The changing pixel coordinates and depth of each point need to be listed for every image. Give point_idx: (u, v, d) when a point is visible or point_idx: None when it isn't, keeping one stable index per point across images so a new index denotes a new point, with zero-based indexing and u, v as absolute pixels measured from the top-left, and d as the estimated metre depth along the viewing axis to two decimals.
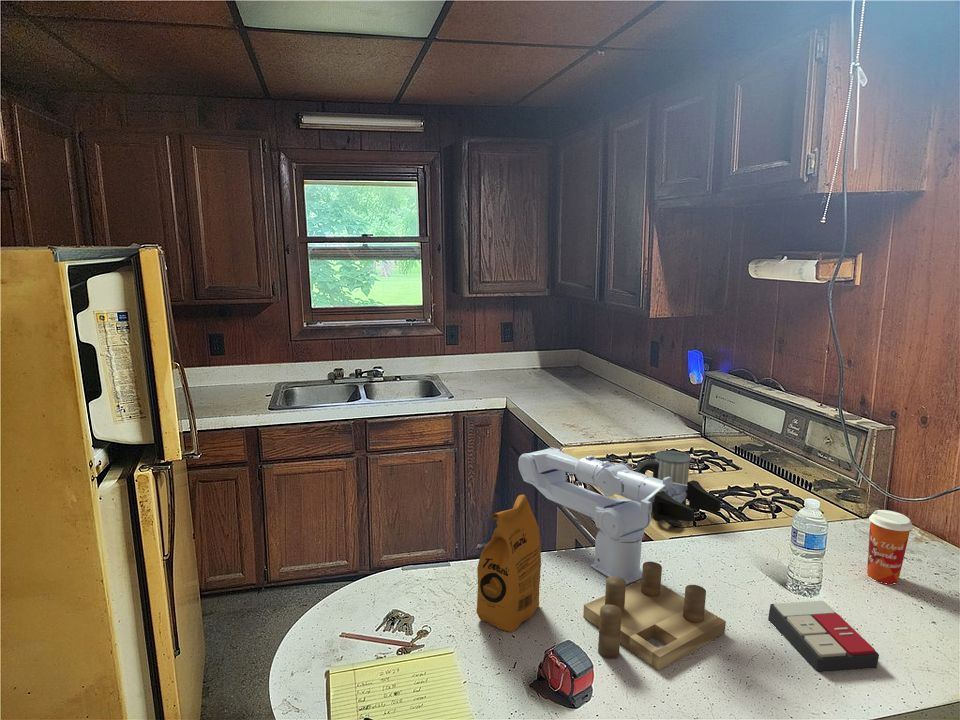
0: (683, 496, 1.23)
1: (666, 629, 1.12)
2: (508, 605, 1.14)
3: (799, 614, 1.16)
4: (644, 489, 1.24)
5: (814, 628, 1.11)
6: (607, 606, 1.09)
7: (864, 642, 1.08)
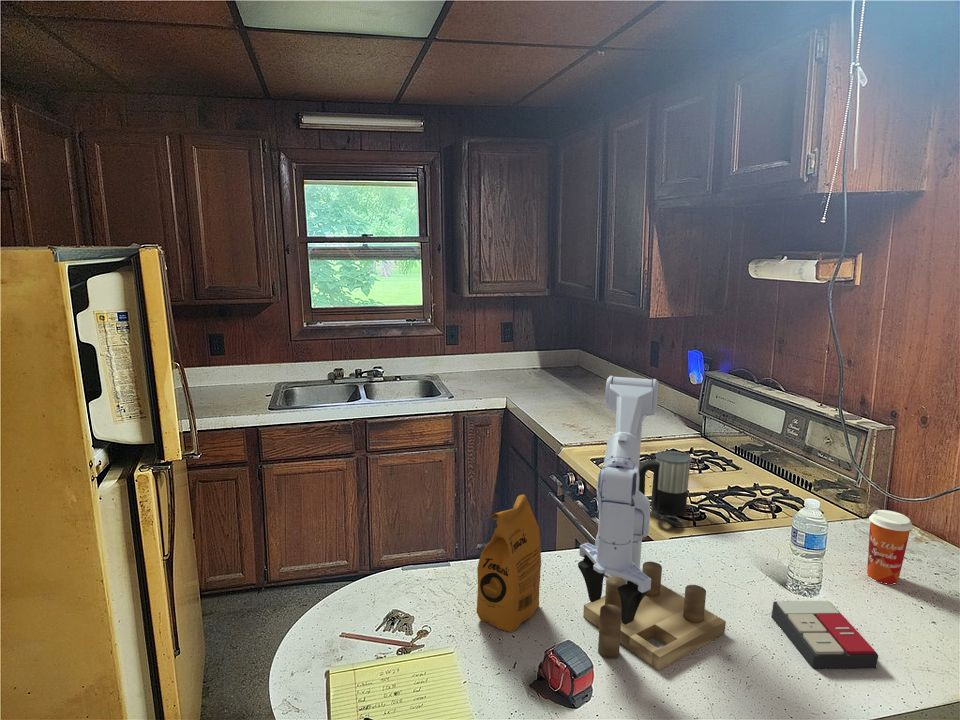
0: None
1: (666, 629, 1.12)
2: (508, 605, 1.14)
3: (801, 612, 1.16)
4: None
5: (814, 627, 1.12)
6: (607, 606, 1.09)
7: (864, 642, 1.08)
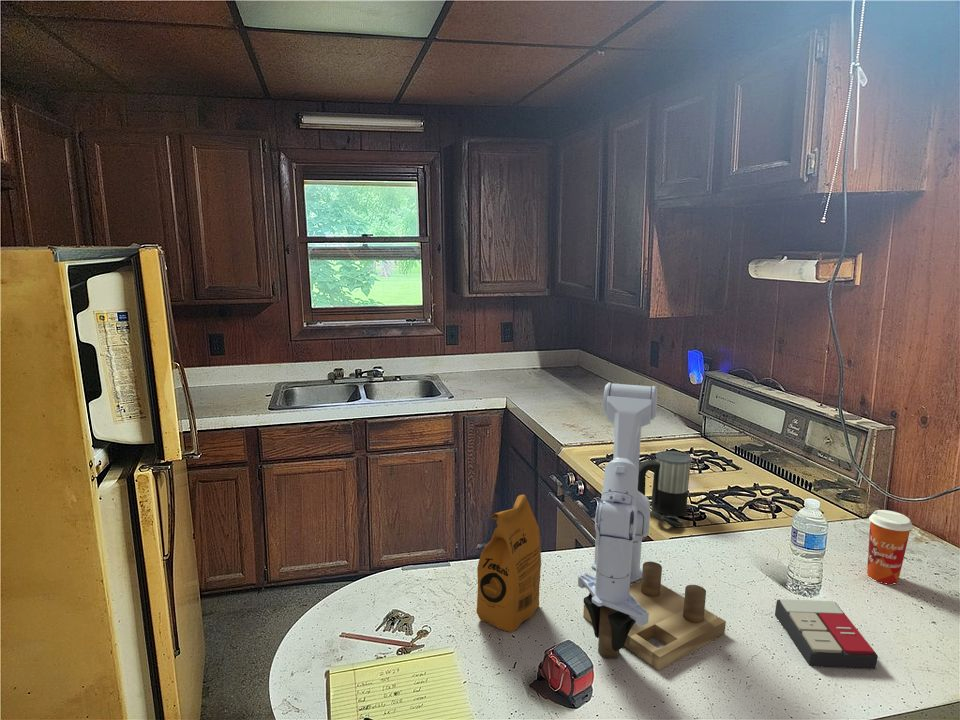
0: None
1: (666, 629, 1.12)
2: (508, 605, 1.14)
3: (804, 611, 1.17)
4: None
5: (814, 625, 1.12)
6: None
7: (864, 643, 1.08)
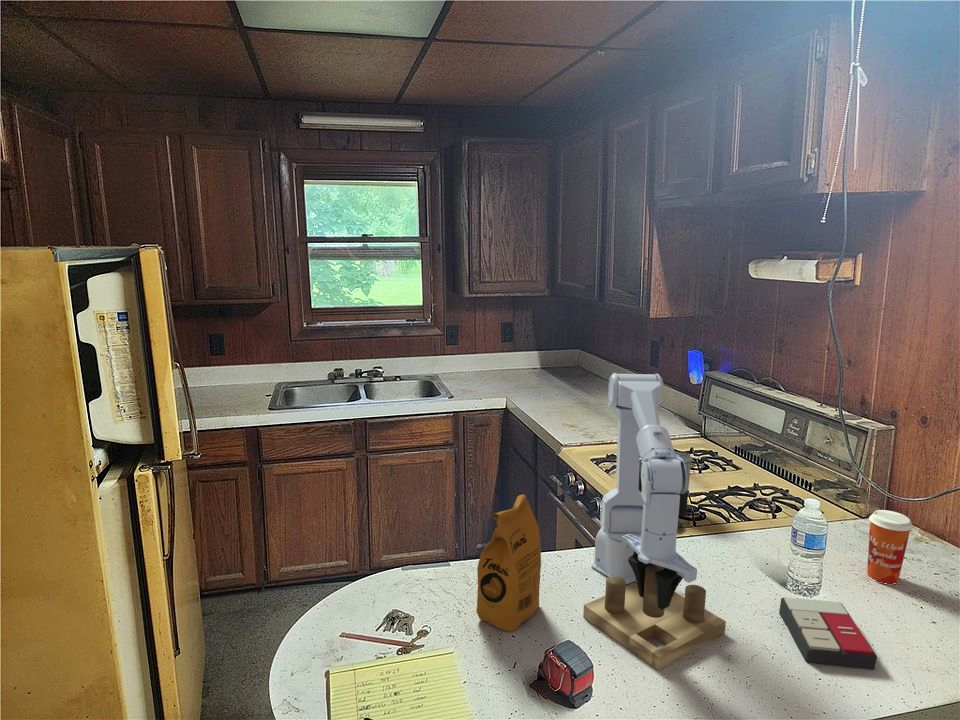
0: None
1: (666, 629, 1.12)
2: (508, 605, 1.14)
3: (807, 610, 1.17)
4: None
5: (815, 624, 1.13)
6: (652, 565, 1.09)
7: (864, 643, 1.08)
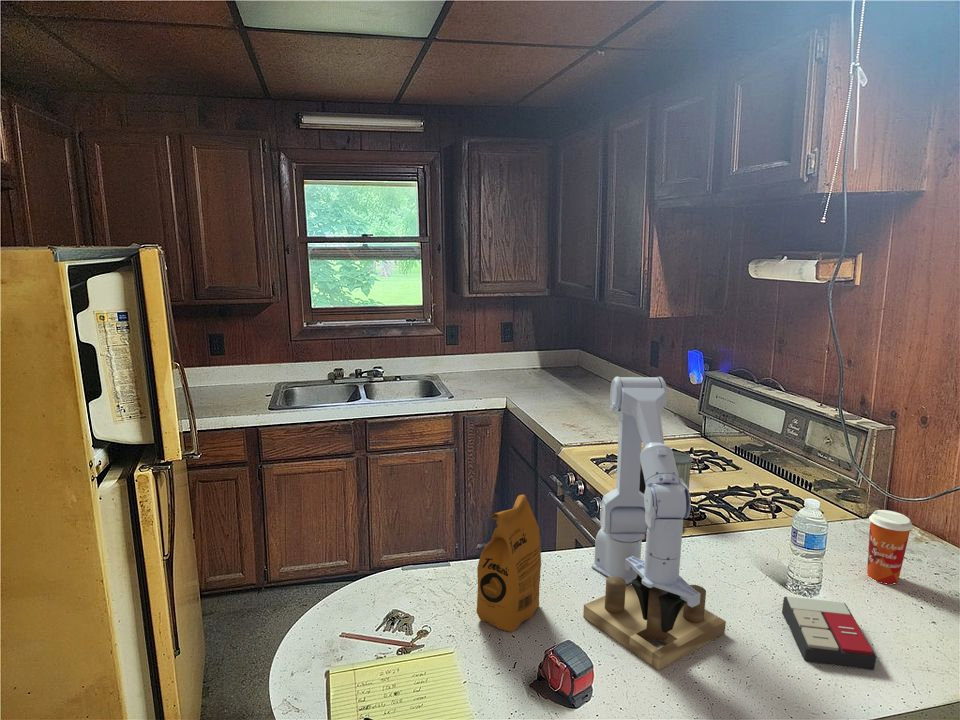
0: None
1: None
2: (508, 605, 1.14)
3: (809, 609, 1.17)
4: None
5: (816, 623, 1.13)
6: (655, 588, 1.10)
7: (864, 643, 1.08)
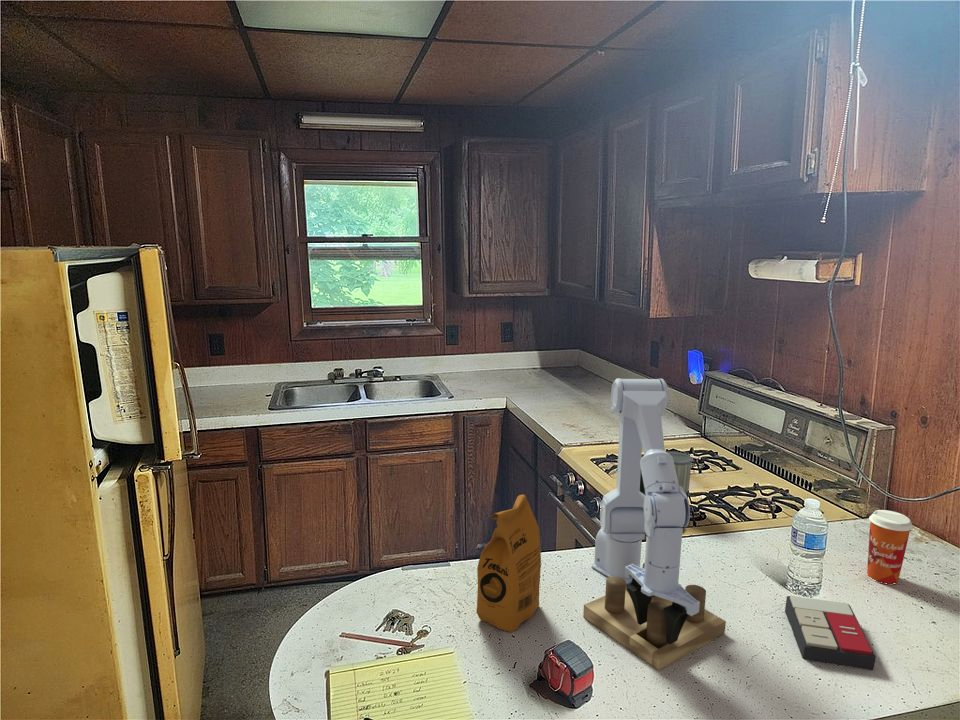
0: None
1: None
2: (508, 605, 1.14)
3: (811, 609, 1.17)
4: None
5: (817, 622, 1.13)
6: (654, 603, 1.10)
7: (864, 643, 1.08)
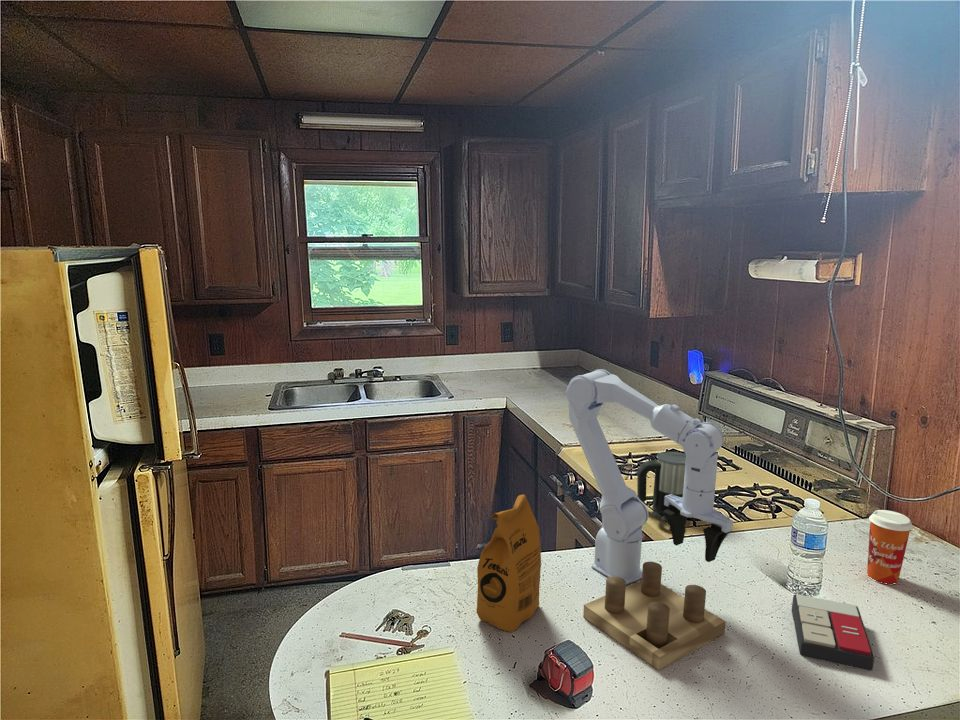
0: None
1: None
2: (508, 605, 1.14)
3: (816, 608, 1.18)
4: None
5: (819, 621, 1.14)
6: (654, 603, 1.10)
7: (864, 643, 1.08)
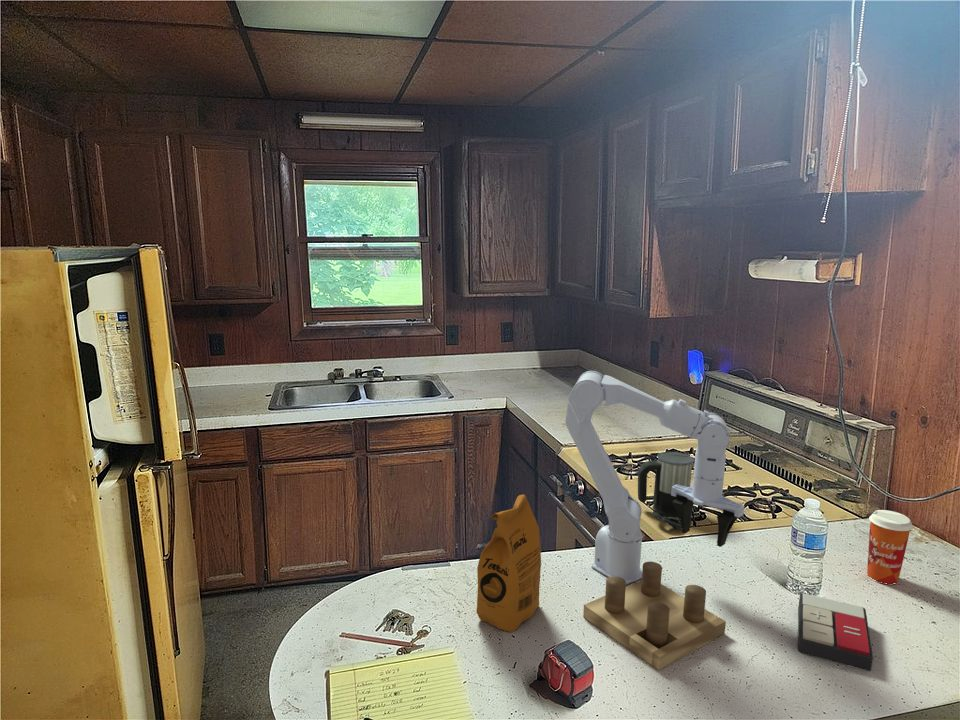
0: None
1: None
2: (508, 605, 1.14)
3: (820, 607, 1.18)
4: (693, 479, 1.28)
5: (821, 619, 1.14)
6: (654, 603, 1.10)
7: (864, 644, 1.08)
